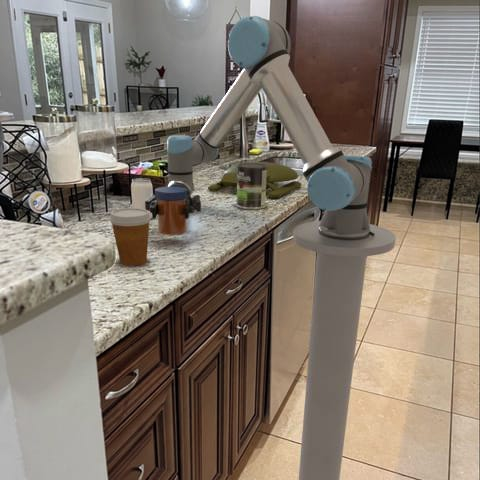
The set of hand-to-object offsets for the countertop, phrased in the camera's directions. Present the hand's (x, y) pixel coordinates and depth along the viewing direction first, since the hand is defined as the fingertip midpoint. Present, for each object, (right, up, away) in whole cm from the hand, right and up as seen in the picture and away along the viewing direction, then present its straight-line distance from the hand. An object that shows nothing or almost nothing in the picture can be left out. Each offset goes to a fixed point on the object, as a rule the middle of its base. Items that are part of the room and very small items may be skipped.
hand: (170, 213), depth 128 cm
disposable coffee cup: (-8, -13, -7) cm, 17 cm away
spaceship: (+25, +24, +80) cm, 87 cm away
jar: (0, -4, +7) cm, 8 cm away
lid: (0, +6, +3) cm, 7 cm away
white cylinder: (-13, +4, +32) cm, 34 cm away
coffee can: (+22, +11, +49) cm, 55 cm away
